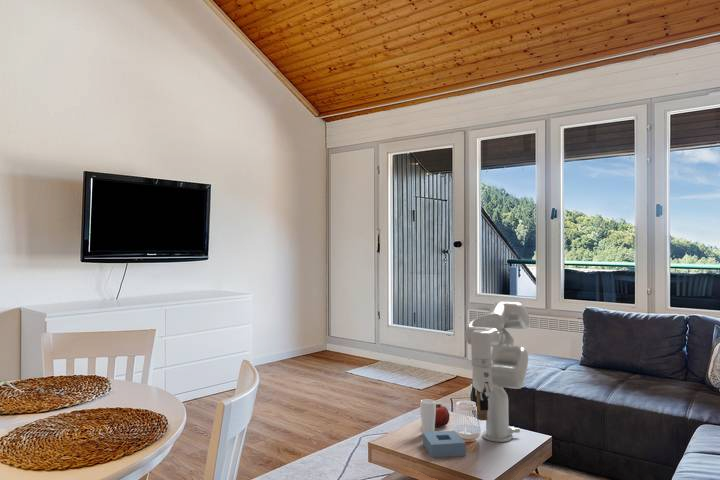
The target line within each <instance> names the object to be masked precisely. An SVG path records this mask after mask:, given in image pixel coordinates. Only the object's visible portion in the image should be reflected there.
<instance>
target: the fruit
mask: <svg viewBox="0 0 720 480" xmlns="http://www.w3.org/2000/svg"><path fill="white" fill-rule="evenodd" d="M449 421H450V413H449V411H448V408H447V407H446V406H443V405H442V404H441V403H439V404H437V403H436V415H435V427H445V426H447V424H448V423H450V422H449Z"/></svg>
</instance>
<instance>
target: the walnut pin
mask: <svg viewBox="0 0 720 480" xmlns="http://www.w3.org/2000/svg"><path fill="white" fill-rule="evenodd" d="M483 392H485V390H484V391H483ZM483 395H485V394H483ZM476 397H477V407H476V419H477V420H478V421H486V420H487V410H483V411H481V410H480V400H481V395H480V392H479V391H478V390H477V396H476Z"/></svg>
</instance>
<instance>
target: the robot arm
mask: <svg viewBox="0 0 720 480" xmlns="http://www.w3.org/2000/svg"><path fill="white" fill-rule="evenodd" d="M530 321H531V319H530V315H529V313H528V311H527V309H526V307H525V306H524V305H523V304H522V303H520V302H518V301H496V302H494V303H493V304H492V306H491V307H490V308H489V310H488V312H487V314H485V315H481V316H479V317H476V318H474V319H473V320H471V321H470V322H469V323H468V325H467V327H466V328H465V333H464V339H465V342H466V343H467V344H468V345H471V346H470V348H471V349H470V351H471V367H472V387H473V388H474V392H475V394H474V396H475V407H476V408H477V390H478V391H479V392H480V395H481V400H480V410H481V411H483V410H487V420H485V422H486V424H485V430H484V431H483V432H482V438H484V440H488V441H491V442H495V443H507V442H510V441H512V440H513V437H514V436H513V433H515V434H519V433H520V432H521V431H520V427H515V426H509V425H510V424H509V423H510V422H509V421H510V420H509V396H508V393H507V392H506V390H505V389H504V388H508V389H517V390H519V389H522V388H523V386H524V385H525V382H526V377H527V375H526V374H527V370H528V365H529V364H528V363H529V353H528V351H527V349H526V347H524V346H520V345H519V346H516V345H514V343H515V341H514V338H513V336H512V335H511V333H510V332H509V331H508V330H507V329H511V330H512V329H514V330H526V329H527V328H529V326H530V323H531V322H530ZM484 390H485V392H483V391H484ZM483 394H485V395H483Z"/></svg>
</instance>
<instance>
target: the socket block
mask: <svg viewBox="0 0 720 480" xmlns="http://www.w3.org/2000/svg"><path fill="white" fill-rule="evenodd" d="M422 445H423V447H424V448H425V450H426V451H427V453H428V455H429V456H430V457H431V458H443V457H462V456H463V457H464V456H466V454H467V451H466V449H467V446H466V445H467V444H466V442H465V440H464V439H463V438H462V437H461V436H460V435H459V433H458V432H457V431H456V430H445V431H443V430H442V431H439V430H438V431H434V432H423V434H422Z"/></svg>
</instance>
